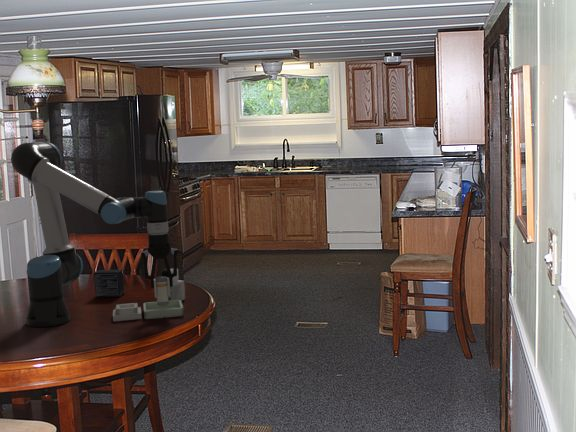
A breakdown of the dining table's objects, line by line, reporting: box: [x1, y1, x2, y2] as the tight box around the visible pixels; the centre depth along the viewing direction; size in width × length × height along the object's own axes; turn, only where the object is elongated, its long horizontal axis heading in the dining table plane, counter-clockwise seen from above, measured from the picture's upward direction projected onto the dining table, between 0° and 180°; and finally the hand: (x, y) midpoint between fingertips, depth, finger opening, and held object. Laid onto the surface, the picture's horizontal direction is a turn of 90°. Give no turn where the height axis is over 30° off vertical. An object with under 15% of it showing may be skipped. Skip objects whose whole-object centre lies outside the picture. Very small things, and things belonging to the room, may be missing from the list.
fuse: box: [155, 276, 169, 306], centre depth 285 cm, size 4×4×10 cm
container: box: [161, 267, 186, 302], centre depth 303 cm, size 8×8×13 cm
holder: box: [112, 302, 143, 322], centre depth 282 cm, size 10×10×4 cm
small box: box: [93, 269, 125, 299], centre depth 317 cm, size 11×6×10 cm, turn 84°
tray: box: [142, 300, 185, 320], centre depth 285 cm, size 14×14×3 cm
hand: (162, 296), depth 285 cm, fingers closed on fuse, 4 cm apart
